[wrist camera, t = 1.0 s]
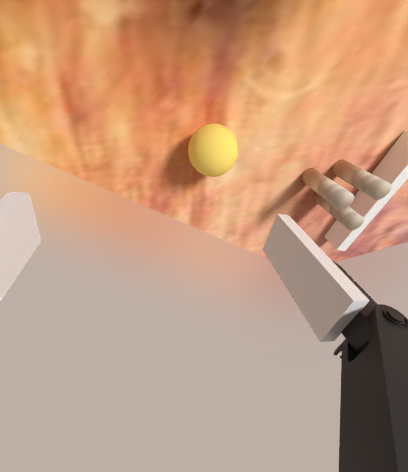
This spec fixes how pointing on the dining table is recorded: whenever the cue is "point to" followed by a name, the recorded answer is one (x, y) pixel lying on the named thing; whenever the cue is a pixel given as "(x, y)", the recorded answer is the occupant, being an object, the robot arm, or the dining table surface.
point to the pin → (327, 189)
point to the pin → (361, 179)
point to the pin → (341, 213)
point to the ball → (213, 150)
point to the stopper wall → (389, 169)
